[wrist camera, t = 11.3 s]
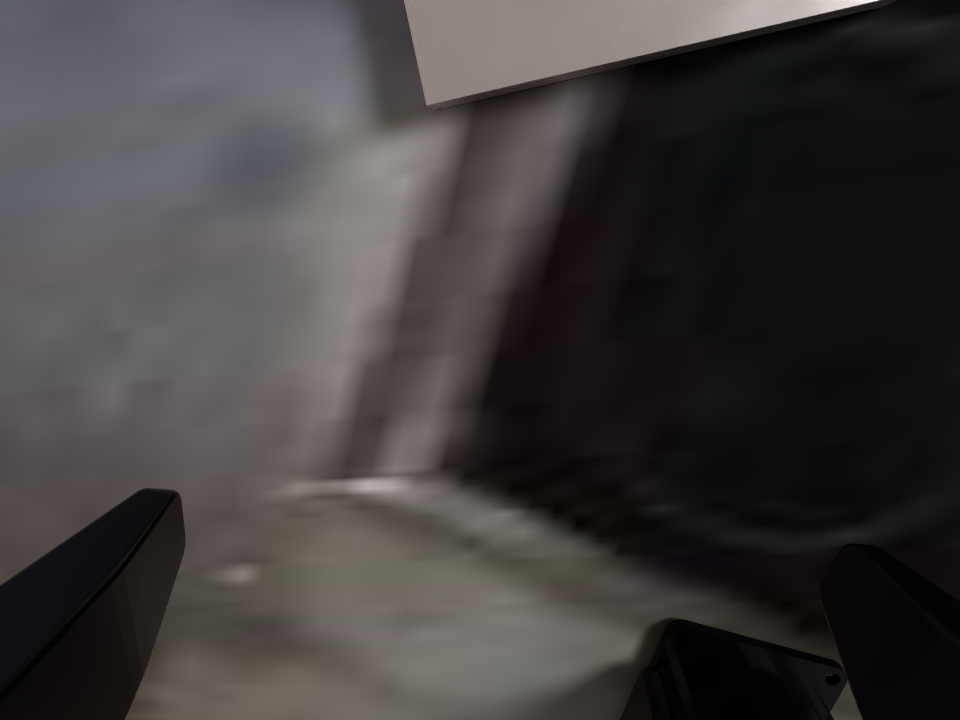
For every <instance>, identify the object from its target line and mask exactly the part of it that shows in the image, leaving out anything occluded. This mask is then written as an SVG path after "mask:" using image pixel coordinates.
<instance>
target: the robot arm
mask: <svg viewBox="0 0 960 720" xmlns="http://www.w3.org/2000/svg"><path fill="white" fill-rule="evenodd" d="M184 549H185V528H184V519H183V510H182V501H181V497H180V495H179V493H178V492H177V491H175V490H167V489H154V488H145V489H142V490H139V491H138V492H136V493H135V494H133V495H132V496H130V497H129V498H127V499H126V500H124V501H123V502H121V503H120V504H119V505H117V506H116V507H114V508H113V509H111V510H110V511H108V512H107V513H105V514H104V515H102V516H101V517H100V518H98V519H97V520H95V521H94V522H92V523H91V524H89V525H88V526H86V527H85V528H84V529H82V530H81V531H79V532H78V533H76V534H75V535H73V536H72V537H70V538H69V539H67V540H66V541H65V542H63V543H62V544H60V545H59V546H57V547H56V548H54V549H53V550H51V551H50V552H48V553H47V554H46V555H44V556H43V557H41V558H40V559H38V560H37V561H35V562H34V563H32V564H31V565H29V566H28V567H27V568H25V569H24V570H22V571H21V572H19V573H18V574H16V575H15V576H13V577H12V578H11V579H9V580H8V581H6V582H5V583H3V584H2V585H0V720H125V718H126V715H127V713H128V711H129V709H130V707H131V704H132V702H133V700H134V698H135V695H136V693H137V690H138V688H139V686H140V683H141V681H142V679H143V676H144V673H145V670H146V668H147V665H148V662H149V659H150V656H151V653H152V650H153V647H154V644H155V641H156V638H157V635H158V632H159V628H160V625H161V622H162V619H163V616H164V613H165V610H166V607H167V604H168V601H169V598H170V595H171V592H172V589H173V585H174V582H175V579H176V576H177V573H178V570H179V567H180V564H181V561H182V558H183V554H184ZM819 597H820V601H821V604H822V607H823V610H824V613H825V616H826V619H827V621H828V624H829V627H830V630H831V633H832V636H833V639H834V642H835V644H836V647H837V650H838V653H839V656H840V659H841V662H842V665H843V668H844V669H843V668H842V666H841V665H840V664H839V663H838V662H837V661H834V660H831V659H828V658H824V657H820V656H817V655H813V654H809V653H805V652H802V651H798V650H794V649H791V648H787V647H783V646H780V645H776V644H772V643H768V642H765V641H761V640H757V639H754V638H750V637H746V636H743V635H739V634H735V633H731V632H728V631H724V630H720V629H717V628H713V627H709V626H706V625H702V624H698V623H694V622H691V621H687V620H681V619H678V620H673V621H672V622H670V623H669V624H668V625H667V627H666V628H665V631H664V633H663V635H662V637H661V640H660V642H659V644H658V646H657V649H656V651H655V653H654V655H653V658H652V660H651V662H650V664H649V667H646V668H645V669H644V670H643V671H641V673H640V675H639V677H638V680H637V682H636V684H635V687H634V689H633V691H632V693H631V696H630V698H629V700H628V702H627V705H626V707H625V709H624V711H623V714H622V716H621V718H620V720H834V719H833V717H832V715H831V713H830V711H831V709H832V708H833V706H834V704H835V702H836V701H837V699H838V697H839V695H840V694H841V692H842V690H843V688H844V687H845V685H846V683H847V680H848V682H849V685H850V688H851V691H852V693H853V696H854V699H855V701H856V704H857V707H858V709H859V711H860V714H861V716H862V719H863V720H960V601H958V600H957V599H956V598H954V597H953V596H951V595H950V594H948V593H947V592H945V591H944V590H942V589H941V588H939V587H938V586H936V585H935V584H933V583H932V582H930V581H929V580H927V579H926V578H924V577H923V576H921V575H920V574H918V573H917V572H915V571H914V570H912V569H911V568H910V567H908V566H907V565H905V564H904V563H902V562H901V561H899V560H898V559H896V558H895V557H893V556H892V555H890V554H889V553H887V552H886V551H884V550H883V549H881V548H879V547H877V546H873V545H864V544H847V545H845V546H843V547H842V548H841V549H840V551H839V552H838V554H837V555H836V557H835V559H834V560H833V562H832V564H831V565H830V567H829V568H828V570H827V572H826V573H825V575H824V576H823V578H822V580H821V582H820V585H819ZM680 633H685V635H684V636H682V637H677V634H680ZM844 670H845V671H844ZM830 674H833V675H831V676H829V677H827V676H828V675H830Z"/></svg>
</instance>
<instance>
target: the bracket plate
mask: <svg viewBox="0 0 960 720" xmlns="http://www.w3.org/2000/svg"><path fill="white" fill-rule="evenodd" d="M894 1H896V0H404V3H405V8H406V12H407V17H408V22H409V26H410V31H411V36H412V40H413V45H414V50H415V54H416V59H417V64H418V68H419V73H420V78H421V82H422V87H423V92H424V96H425V101H426V105H427V106H428V107H430V108H431V109H433V110H438V109H442V108H447V107H451V106H455V105H460V104H464V103H468V102H473V101H477V100H481V99H486V98H490V97H494V96H499V95H503V94H507V93H512V92H516V91H520V90H525V89H529V88H533V87H538V86H542V85H546V84H551V83H555V82H559V81H564V80H568V79H573V78H577V77H581V76H586V75H590V74H594V73H599V72H603V71H607V70H612V69H616V68H620V67H625V66H629V65H633V64H638V63H642V62H646V61H651V60H655V59H659V58H664V57H668V56H672V55H677V54H681V53H685V52H690V51H694V50H698V49H703V48H707V47H711V46H716V45H720V44H724V43H729V42H733V41H737V40H742V39H746V38H750V37H755V36H759V35H763V34H768V33H772V32H776V31H781V30H785V29H789V28H794V27H798V26H802V25H807V24H811V23H815V22H820V21H824V20H828V19H833V18H837V17H841V16H846V15H850V14H854V13H859V12H863V11H867V10H872V9H876V8H880V7H883V6H885V5H888V4H890V3H892V2H894Z"/></svg>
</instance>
